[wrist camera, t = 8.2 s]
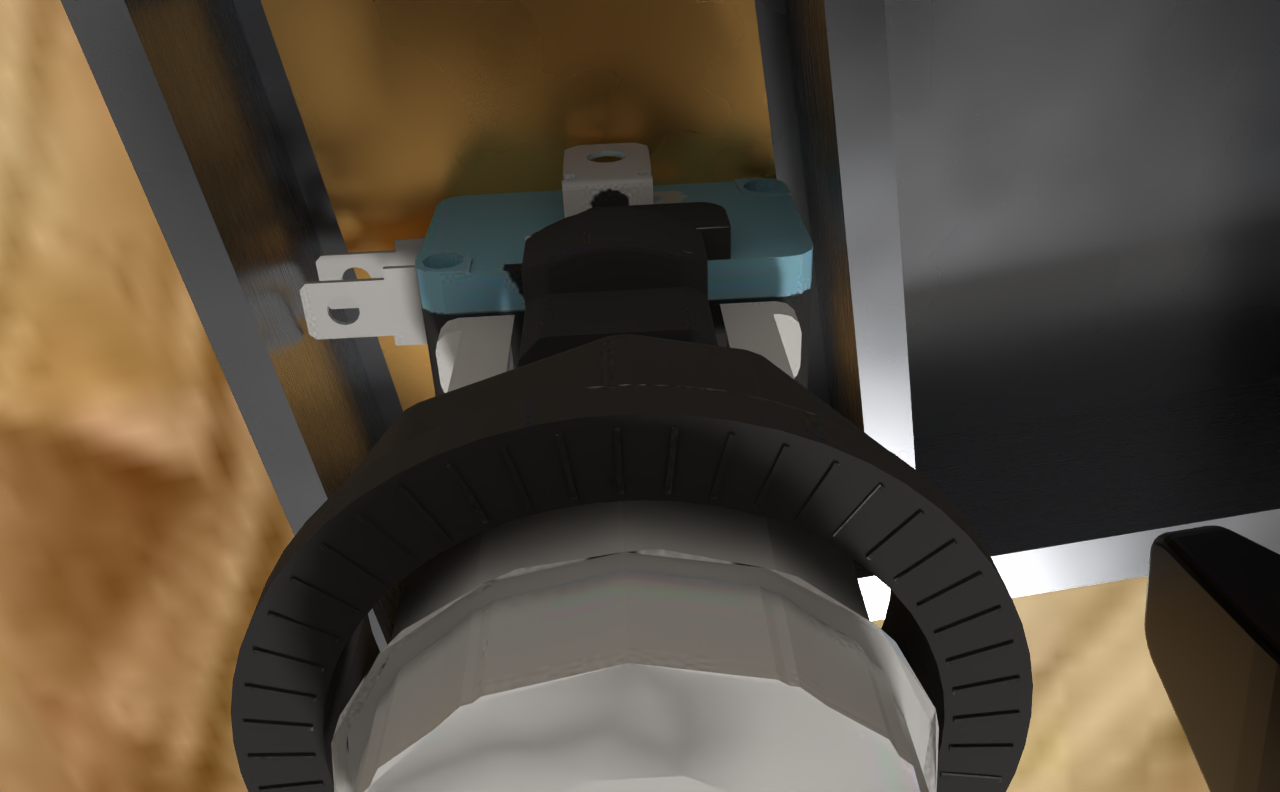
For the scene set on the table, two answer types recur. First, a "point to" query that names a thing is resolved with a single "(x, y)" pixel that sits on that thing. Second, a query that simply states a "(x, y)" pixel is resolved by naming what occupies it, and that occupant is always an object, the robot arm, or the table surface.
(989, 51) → the divided tray
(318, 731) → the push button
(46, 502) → the table surface
